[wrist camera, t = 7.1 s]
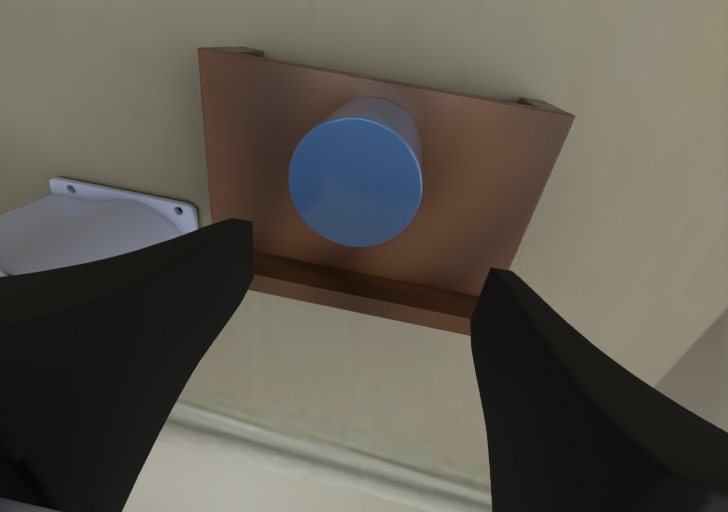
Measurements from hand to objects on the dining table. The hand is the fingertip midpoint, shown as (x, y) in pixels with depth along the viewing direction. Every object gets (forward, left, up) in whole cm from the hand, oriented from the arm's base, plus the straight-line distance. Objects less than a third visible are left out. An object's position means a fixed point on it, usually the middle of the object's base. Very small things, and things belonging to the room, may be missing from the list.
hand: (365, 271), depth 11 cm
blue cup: (-1, +2, -6) cm, 7 cm away
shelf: (-1, 0, -10) cm, 10 cm away
